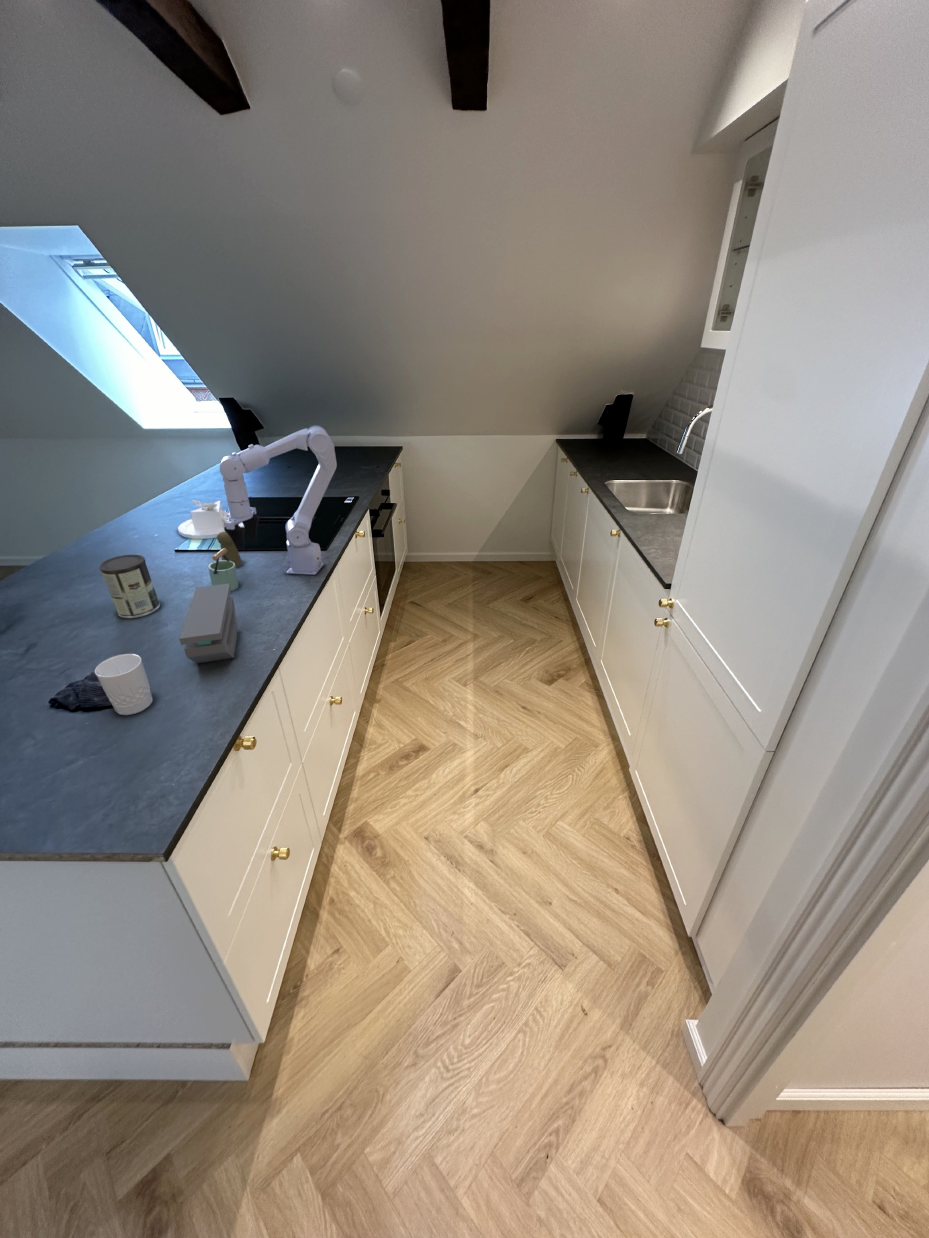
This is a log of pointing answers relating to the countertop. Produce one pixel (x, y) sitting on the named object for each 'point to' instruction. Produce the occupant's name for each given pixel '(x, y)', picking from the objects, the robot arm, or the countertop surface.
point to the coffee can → (130, 585)
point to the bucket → (223, 571)
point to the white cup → (125, 683)
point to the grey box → (210, 625)
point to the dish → (205, 521)
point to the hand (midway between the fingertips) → (246, 544)
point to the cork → (229, 548)
